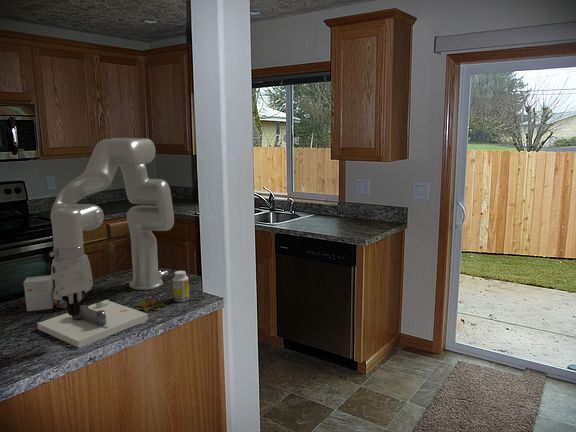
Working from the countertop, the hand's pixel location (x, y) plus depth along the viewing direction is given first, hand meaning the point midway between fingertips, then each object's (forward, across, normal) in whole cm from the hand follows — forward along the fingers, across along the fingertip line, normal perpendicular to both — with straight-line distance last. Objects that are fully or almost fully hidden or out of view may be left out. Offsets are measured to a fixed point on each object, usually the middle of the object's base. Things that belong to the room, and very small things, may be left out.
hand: (74, 314), depth 135 cm
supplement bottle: (+8, +42, +1) cm, 42 cm away
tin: (+8, +17, +30) cm, 36 cm away
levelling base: (+8, +11, +7) cm, 15 cm away
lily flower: (+9, +31, +5) cm, 32 cm away
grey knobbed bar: (+6, +9, +6) cm, 12 cm away
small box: (+8, +9, +35) cm, 37 cm away
